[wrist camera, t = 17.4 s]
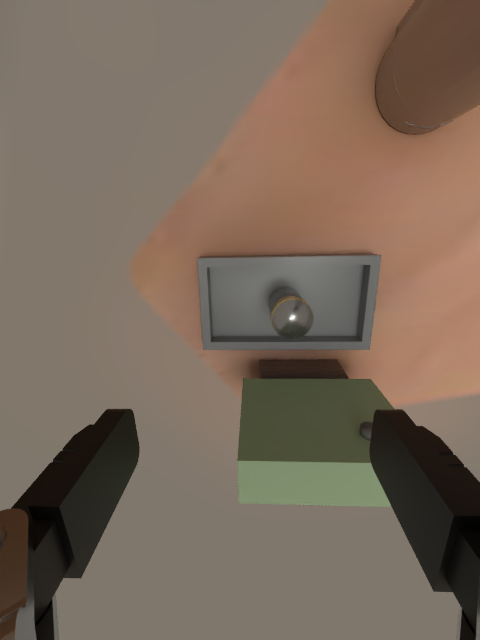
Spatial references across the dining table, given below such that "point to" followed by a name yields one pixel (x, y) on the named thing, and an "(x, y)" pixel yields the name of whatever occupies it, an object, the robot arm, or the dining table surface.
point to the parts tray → (308, 280)
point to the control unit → (308, 436)
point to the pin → (290, 313)
